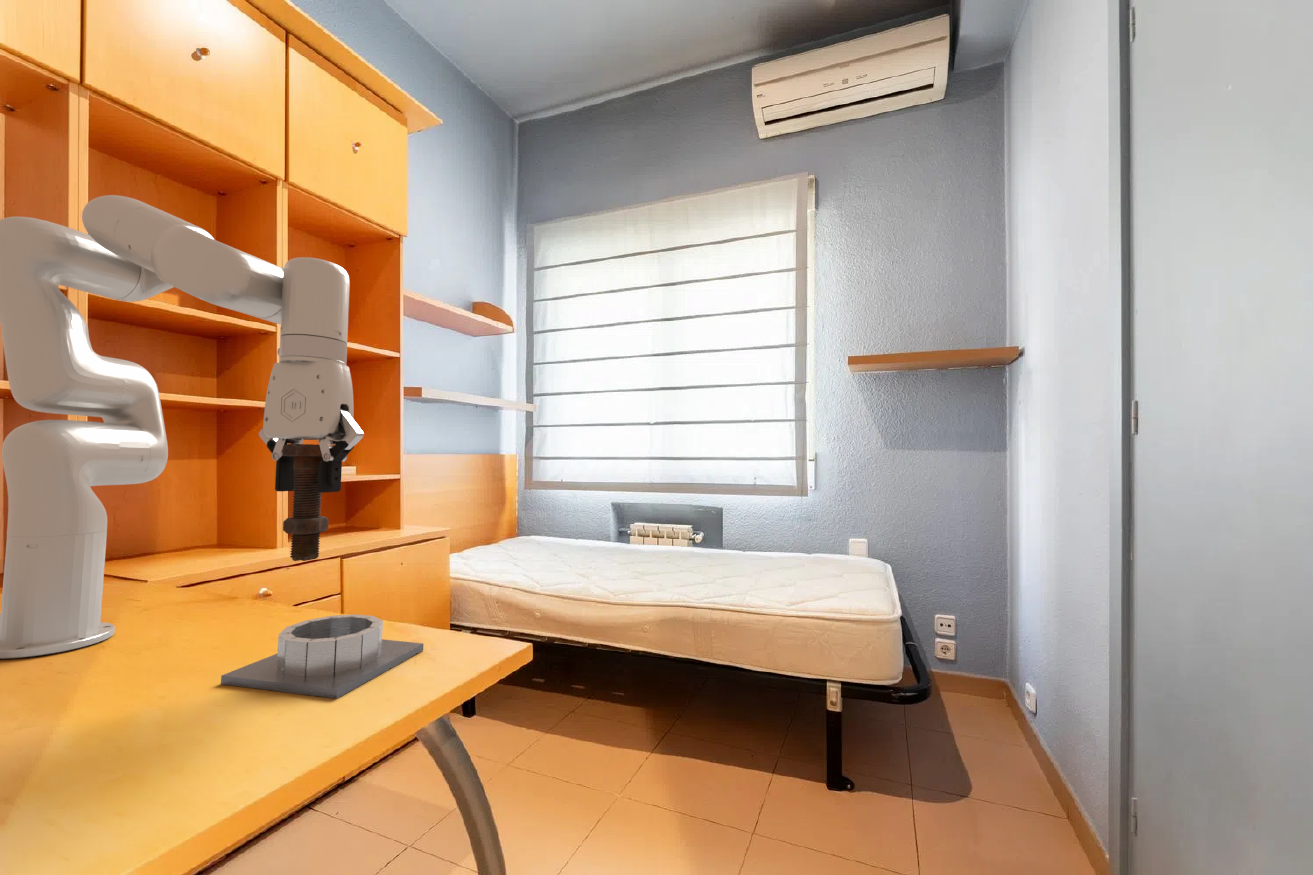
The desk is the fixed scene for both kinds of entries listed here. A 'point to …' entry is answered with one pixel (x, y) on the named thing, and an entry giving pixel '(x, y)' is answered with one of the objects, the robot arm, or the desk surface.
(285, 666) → the ring fixture
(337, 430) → the robot arm
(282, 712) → the desk surface
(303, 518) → the bolt
